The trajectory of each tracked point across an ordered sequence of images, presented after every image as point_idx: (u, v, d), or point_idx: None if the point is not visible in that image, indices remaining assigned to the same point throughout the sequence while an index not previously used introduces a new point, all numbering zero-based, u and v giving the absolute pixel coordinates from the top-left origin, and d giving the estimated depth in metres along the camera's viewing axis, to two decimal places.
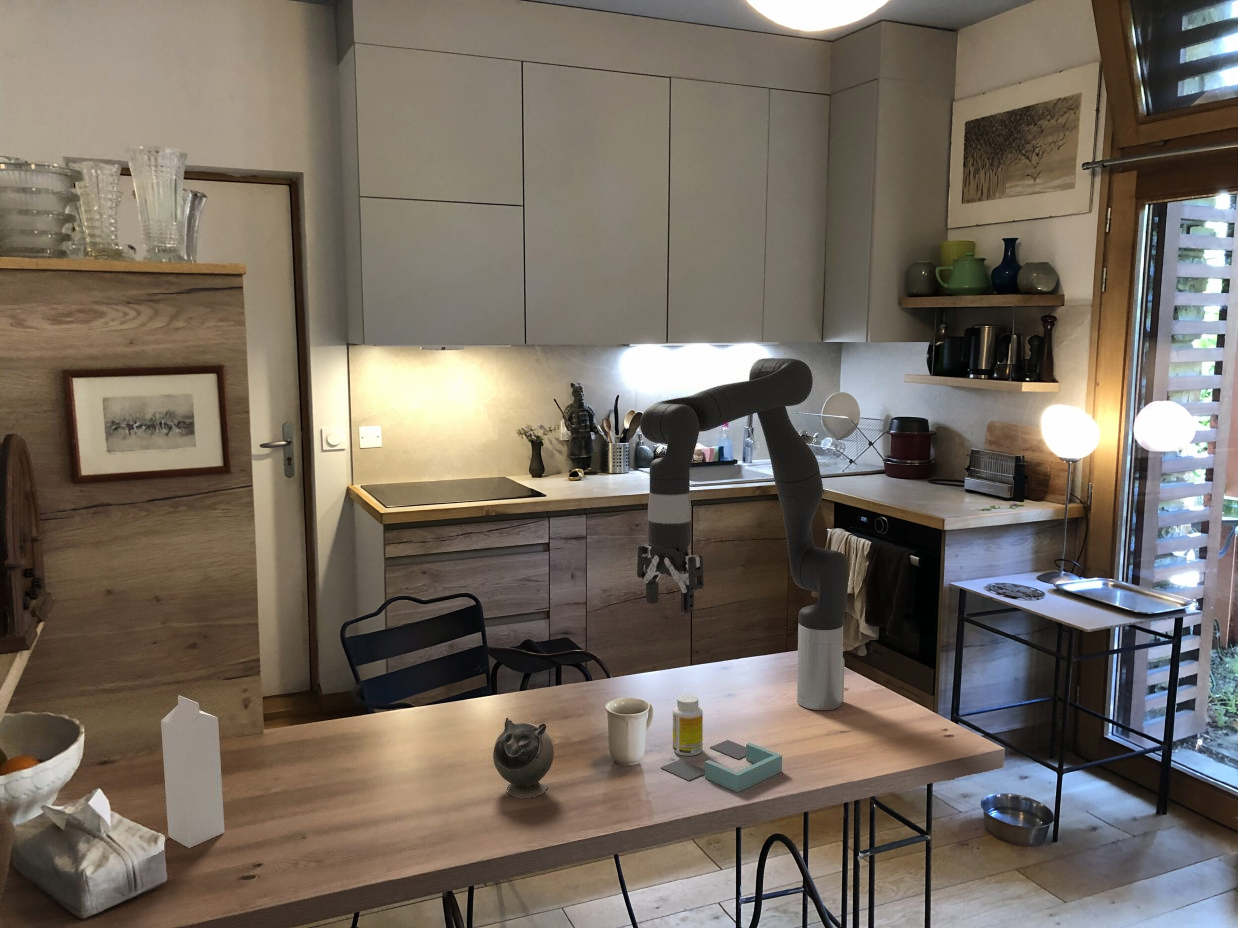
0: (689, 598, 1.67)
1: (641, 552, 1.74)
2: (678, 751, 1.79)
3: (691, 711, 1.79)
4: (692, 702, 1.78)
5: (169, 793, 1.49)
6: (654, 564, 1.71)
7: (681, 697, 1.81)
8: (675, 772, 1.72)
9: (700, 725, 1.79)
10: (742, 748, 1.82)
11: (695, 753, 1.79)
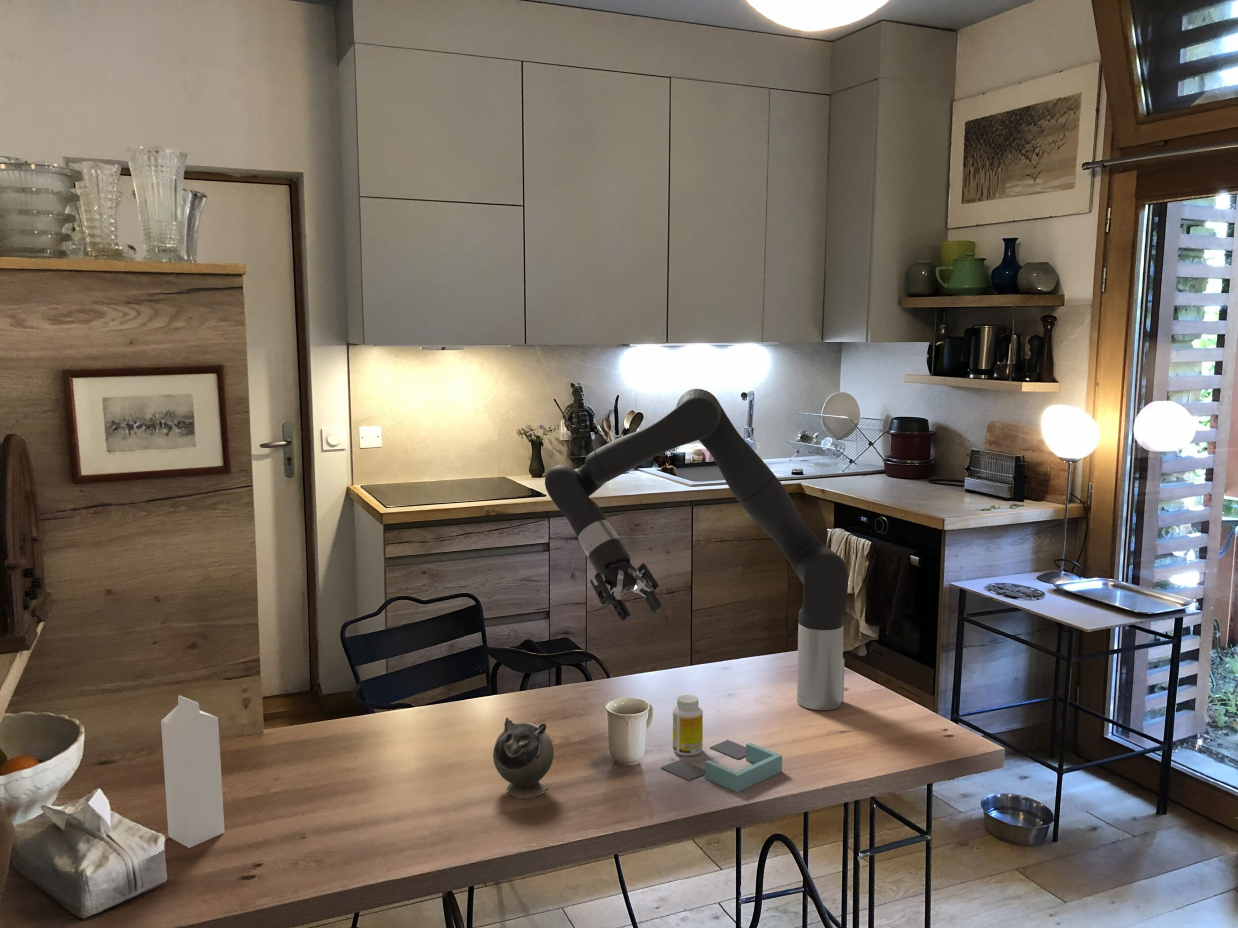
0: (615, 608, 1.88)
1: None
2: (678, 751, 1.79)
3: (691, 711, 1.79)
4: (692, 702, 1.78)
5: (169, 793, 1.49)
6: None
7: (681, 697, 1.81)
8: (675, 772, 1.72)
9: (700, 725, 1.79)
10: (742, 748, 1.82)
11: (695, 753, 1.79)
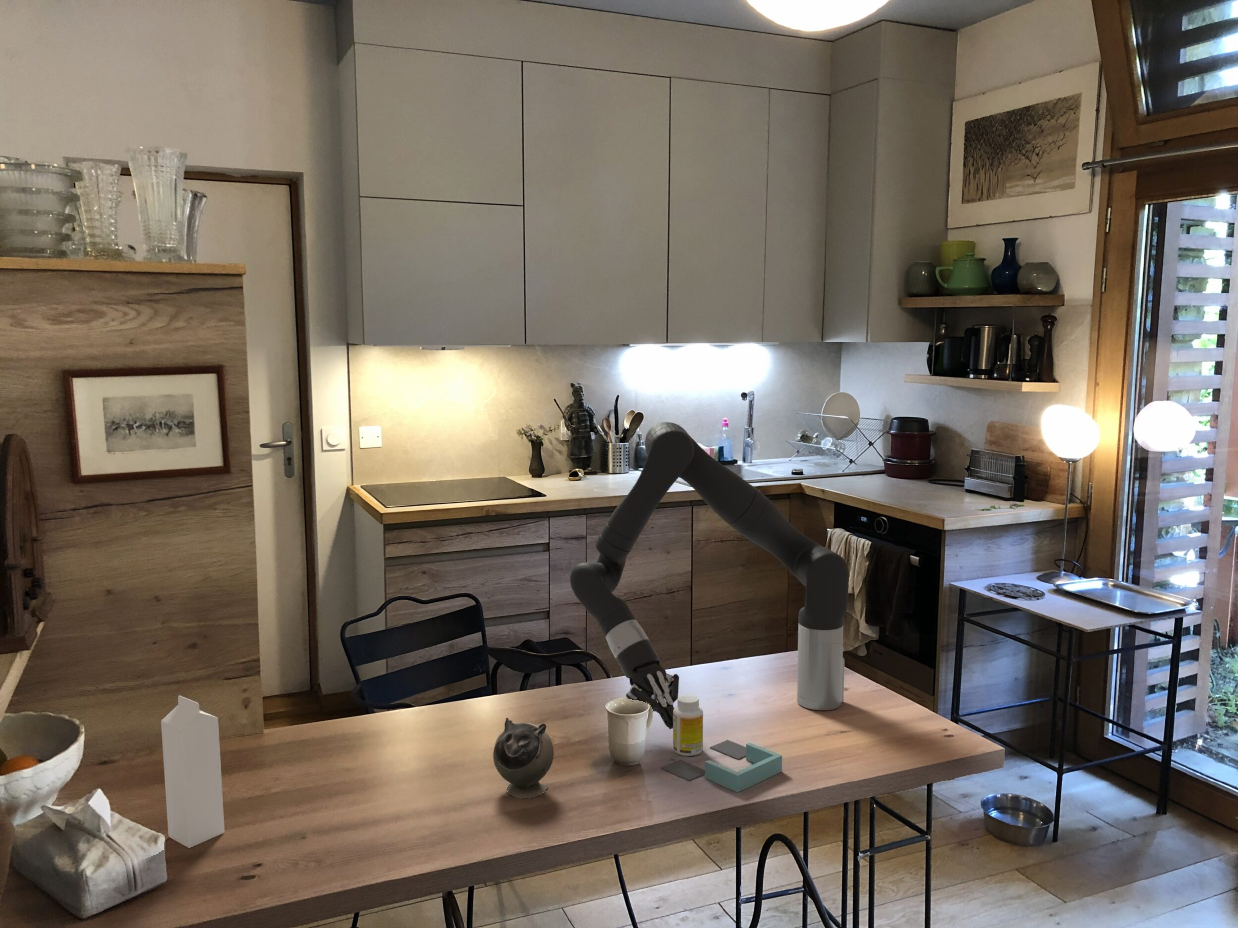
0: (661, 716, 1.84)
1: None
2: (679, 751, 1.79)
3: (691, 711, 1.78)
4: (692, 703, 1.78)
5: (169, 793, 1.49)
6: None
7: (682, 697, 1.81)
8: (675, 772, 1.72)
9: (700, 725, 1.79)
10: (742, 748, 1.82)
11: (695, 753, 1.79)
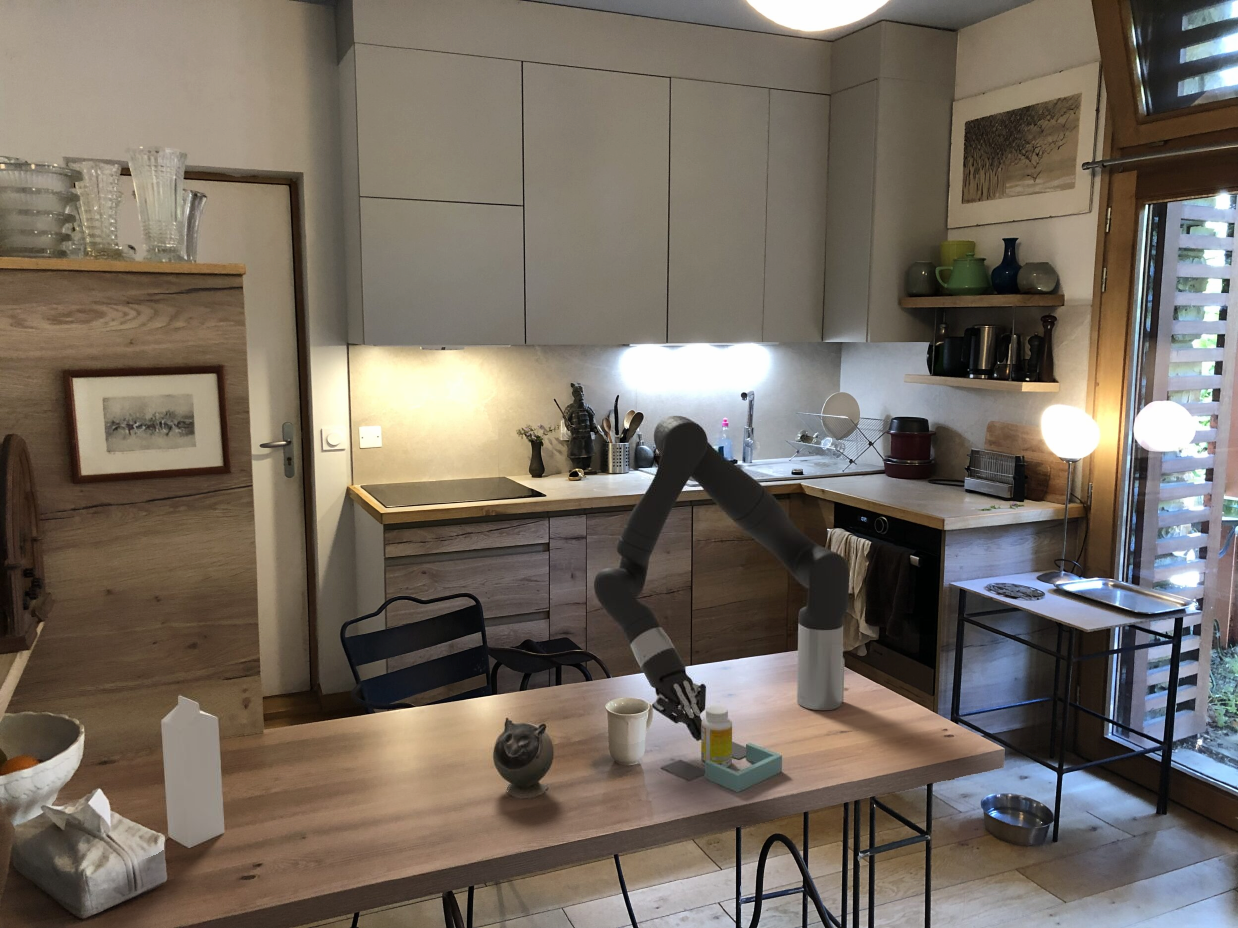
0: (688, 727, 1.78)
1: None
2: None
3: (721, 723, 1.73)
4: (722, 714, 1.73)
5: (169, 793, 1.49)
6: None
7: (710, 708, 1.75)
8: (675, 772, 1.72)
9: (730, 737, 1.74)
10: (742, 748, 1.82)
11: (726, 766, 1.73)
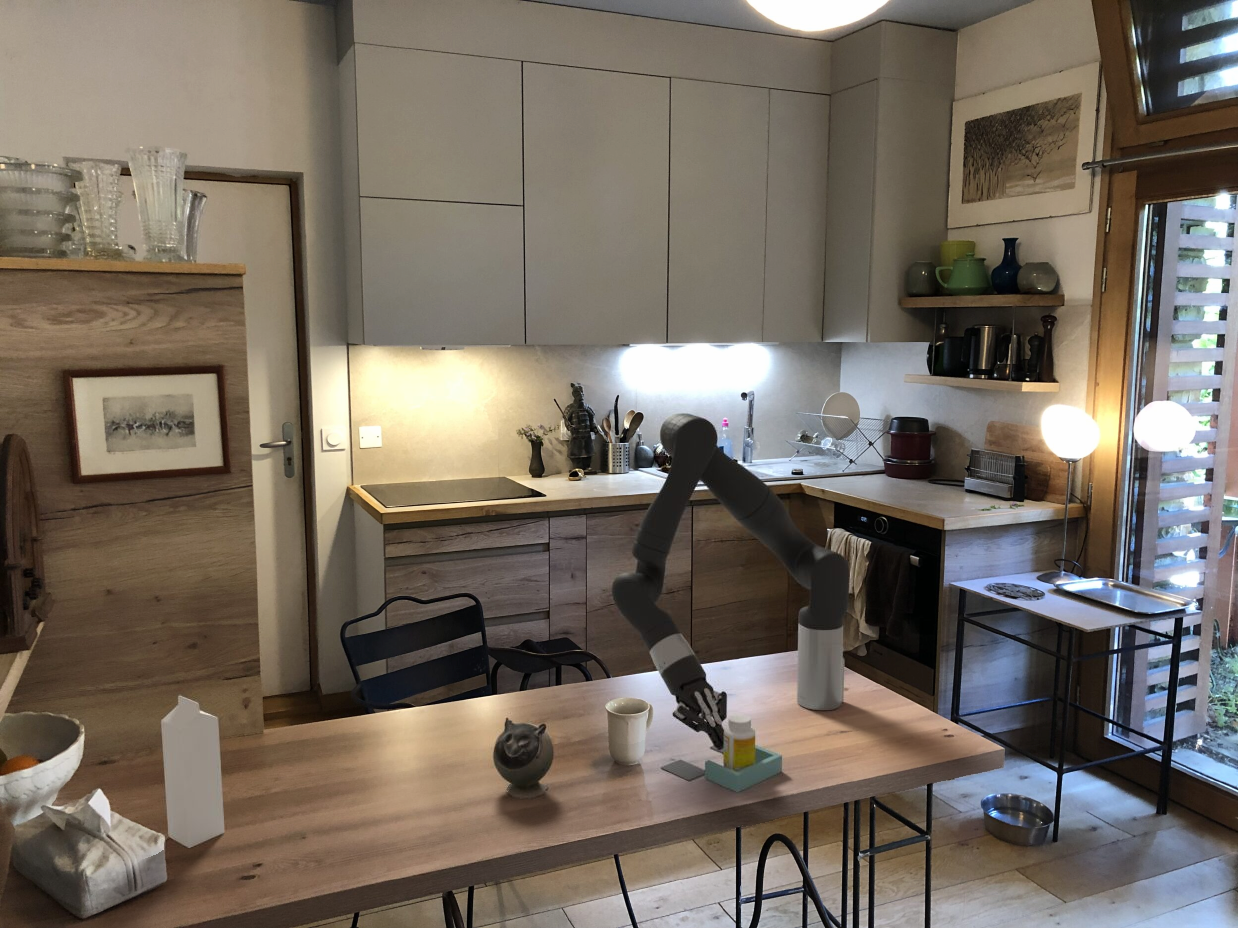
0: (710, 736, 1.74)
1: None
2: None
3: (745, 732, 1.69)
4: (746, 722, 1.69)
5: (169, 793, 1.49)
6: None
7: (733, 717, 1.71)
8: (675, 772, 1.72)
9: (754, 746, 1.70)
10: None
11: None
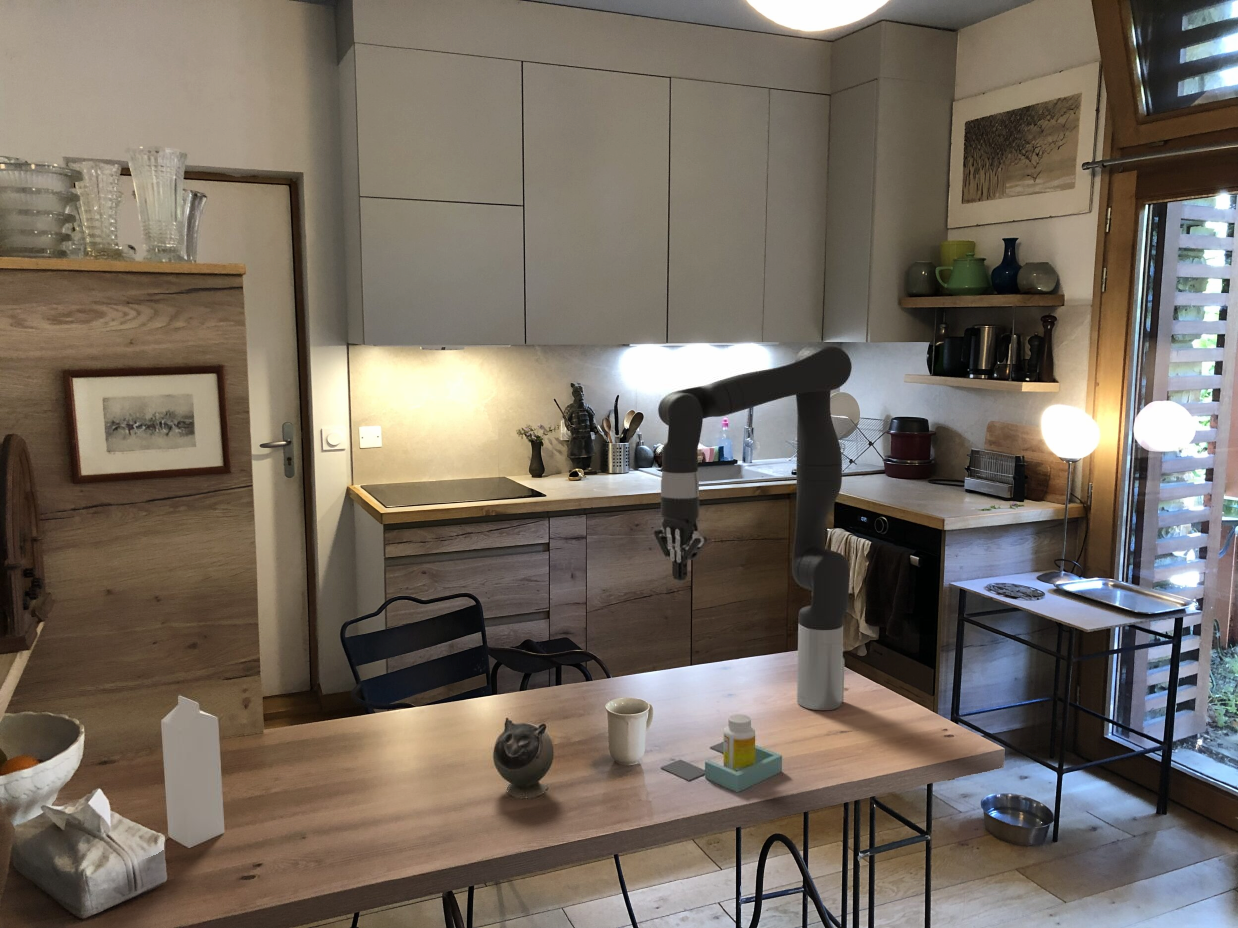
0: (683, 567, 1.92)
1: (658, 534, 1.95)
2: None
3: (745, 732, 1.69)
4: (746, 723, 1.69)
5: (169, 793, 1.49)
6: (670, 537, 1.92)
7: (733, 717, 1.71)
8: (675, 772, 1.72)
9: (754, 746, 1.70)
10: None
11: None
